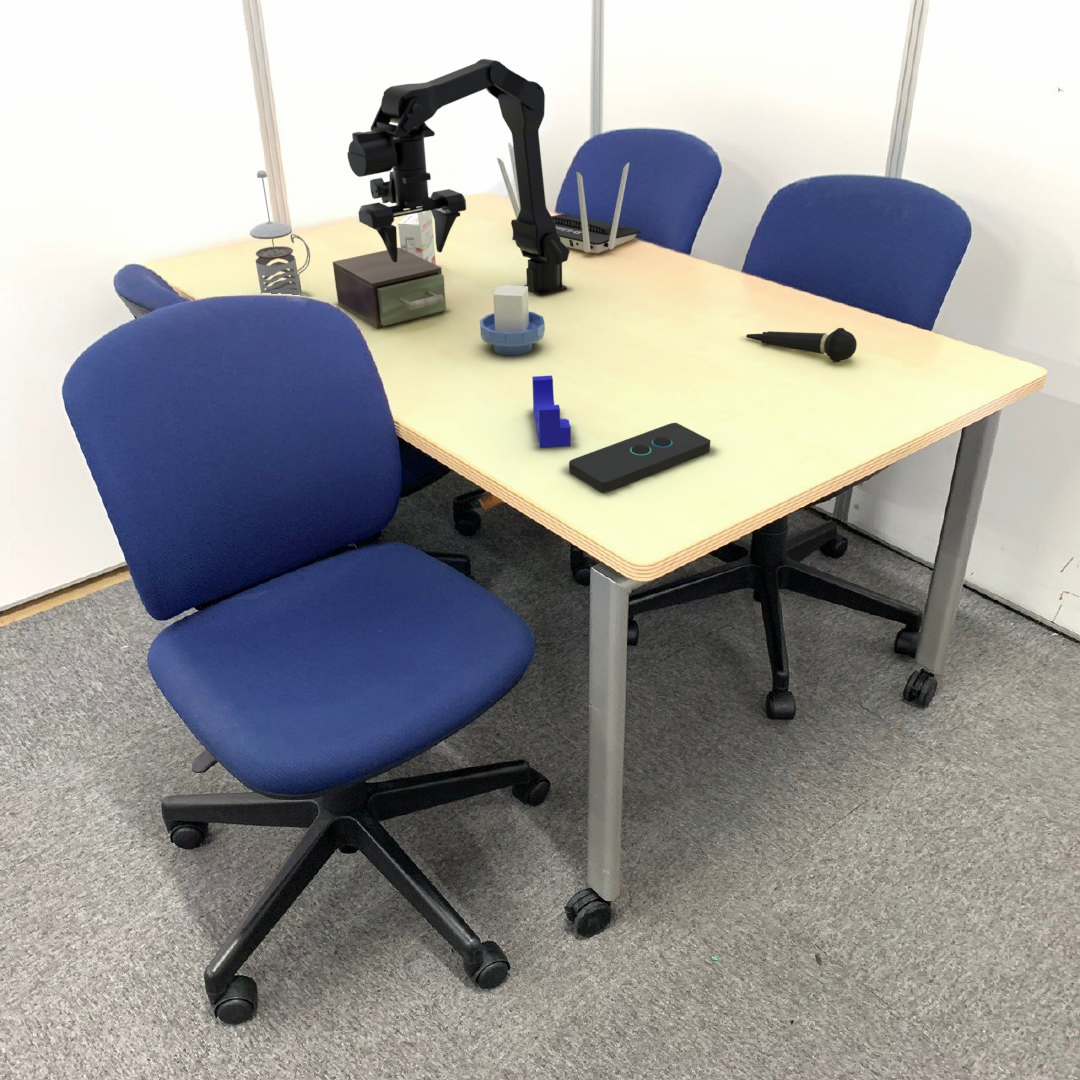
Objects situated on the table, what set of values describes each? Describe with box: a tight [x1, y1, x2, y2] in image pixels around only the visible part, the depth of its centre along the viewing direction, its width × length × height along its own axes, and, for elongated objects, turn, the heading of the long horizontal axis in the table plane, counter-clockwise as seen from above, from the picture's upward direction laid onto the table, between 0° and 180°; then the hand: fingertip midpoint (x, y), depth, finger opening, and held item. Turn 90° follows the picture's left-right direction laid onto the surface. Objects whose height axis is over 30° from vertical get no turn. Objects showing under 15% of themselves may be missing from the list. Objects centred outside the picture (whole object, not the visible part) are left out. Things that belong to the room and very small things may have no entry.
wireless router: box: [496, 142, 642, 254], centre depth 228 cm, size 34×23×20 cm
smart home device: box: [568, 422, 711, 493], centre depth 144 cm, size 8×2×20 cm
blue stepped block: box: [531, 374, 572, 449], centre depth 152 cm, size 12×4×6 cm, turn 5°
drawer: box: [376, 273, 447, 327], centre depth 194 cm, size 21×13×7 cm, turn 35°
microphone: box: [745, 327, 858, 364], centre depth 176 cm, size 6×6×20 cm
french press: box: [249, 170, 311, 297], centre depth 199 cm, size 10×12×25 cm
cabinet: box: [332, 247, 446, 329], centre depth 198 cm, size 17×15×9 cm
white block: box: [493, 284, 530, 333], centre depth 178 cm, size 5×5×7 cm
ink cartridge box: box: [397, 206, 437, 265], centre depth 214 cm, size 9×5×15 cm, turn 168°
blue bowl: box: [479, 311, 546, 356], centre depth 180 cm, size 11×11×5 cm
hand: (417, 256), depth 184 cm, fingers open, 9 cm apart
